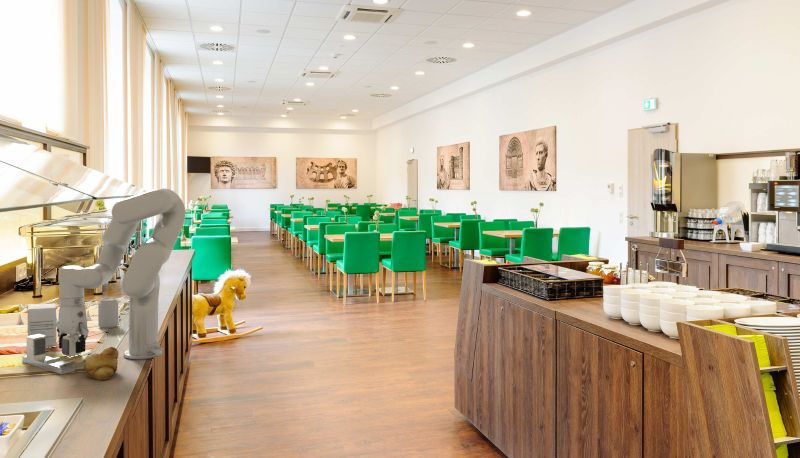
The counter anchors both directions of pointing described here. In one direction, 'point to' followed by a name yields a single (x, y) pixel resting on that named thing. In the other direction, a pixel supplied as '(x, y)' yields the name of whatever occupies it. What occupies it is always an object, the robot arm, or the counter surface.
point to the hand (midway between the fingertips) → (72, 349)
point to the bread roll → (102, 364)
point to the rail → (44, 356)
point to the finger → (69, 345)
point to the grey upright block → (108, 313)
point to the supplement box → (43, 321)
